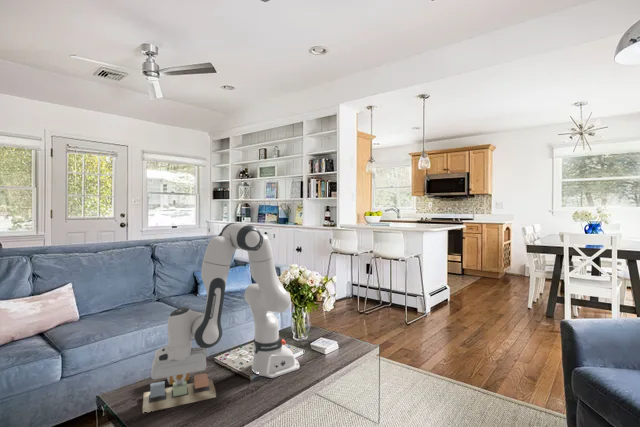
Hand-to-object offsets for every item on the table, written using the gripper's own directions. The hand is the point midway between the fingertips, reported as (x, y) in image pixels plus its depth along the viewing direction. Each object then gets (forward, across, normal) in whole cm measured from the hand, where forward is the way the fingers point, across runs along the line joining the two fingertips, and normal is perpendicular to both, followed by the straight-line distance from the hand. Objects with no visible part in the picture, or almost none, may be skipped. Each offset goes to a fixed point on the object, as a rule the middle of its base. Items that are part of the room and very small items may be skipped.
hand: (179, 384), depth 137 cm
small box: (+6, 0, -15) cm, 16 cm away
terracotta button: (+2, -8, 0) cm, 8 cm away
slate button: (+2, +8, 0) cm, 8 cm away
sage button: (+3, 0, 0) cm, 3 cm away
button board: (+5, 0, 0) cm, 5 cm away
